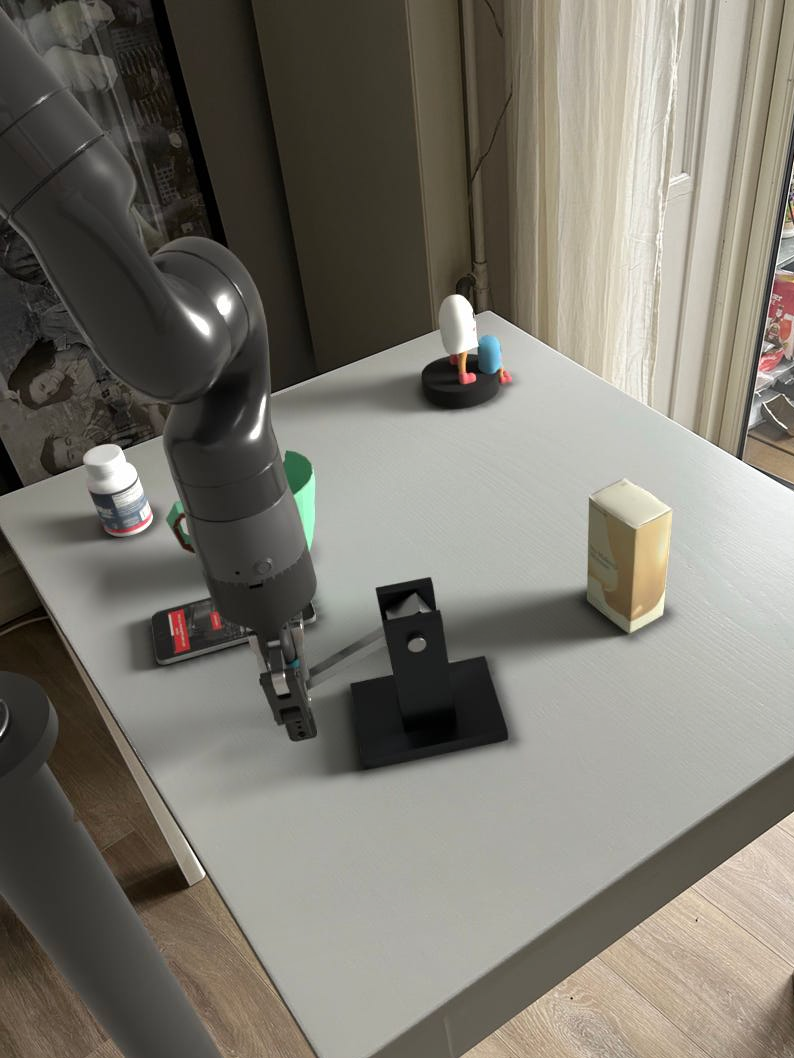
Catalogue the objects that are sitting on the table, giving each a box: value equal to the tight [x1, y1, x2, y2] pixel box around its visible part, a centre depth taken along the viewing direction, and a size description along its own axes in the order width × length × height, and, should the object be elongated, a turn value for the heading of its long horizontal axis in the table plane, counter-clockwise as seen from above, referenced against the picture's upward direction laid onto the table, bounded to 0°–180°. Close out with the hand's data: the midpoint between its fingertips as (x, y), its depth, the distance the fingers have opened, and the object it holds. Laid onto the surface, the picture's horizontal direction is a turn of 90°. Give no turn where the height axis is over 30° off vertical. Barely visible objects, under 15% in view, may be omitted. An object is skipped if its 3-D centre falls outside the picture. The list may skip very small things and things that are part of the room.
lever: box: [286, 593, 431, 692], centre depth 77 cm, size 13×6×2 cm, turn 102°
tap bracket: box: [349, 576, 509, 771], centre depth 79 cm, size 12×9×13 cm
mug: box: [165, 449, 316, 555], centre depth 97 cm, size 15×10×10 cm
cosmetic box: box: [586, 477, 673, 634], centre depth 87 cm, size 6×4×12 cm
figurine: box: [420, 294, 513, 410], centre depth 119 cm, size 10×11×12 cm
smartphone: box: [150, 596, 317, 666], centre depth 94 cm, size 7×1×15 cm
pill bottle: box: [82, 443, 154, 538], centre depth 105 cm, size 5×5×9 cm
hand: (301, 708), depth 80 cm, fingers closed on lever, 5 cm apart
